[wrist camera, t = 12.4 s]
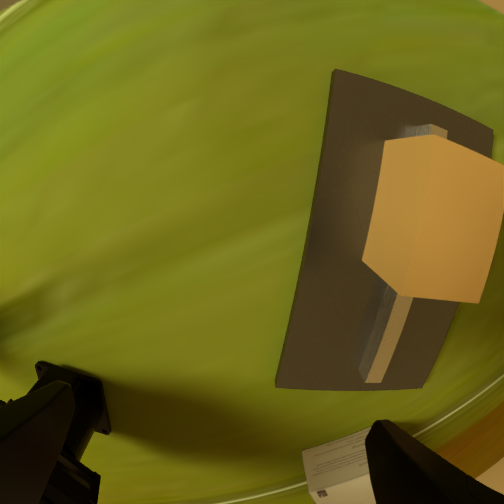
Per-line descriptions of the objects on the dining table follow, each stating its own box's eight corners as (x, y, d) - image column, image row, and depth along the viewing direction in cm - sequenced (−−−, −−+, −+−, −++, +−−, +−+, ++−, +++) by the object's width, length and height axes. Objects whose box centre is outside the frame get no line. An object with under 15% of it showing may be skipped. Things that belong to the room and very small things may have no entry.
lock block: (431, 271, 18) (478, 303, 13) (361, 260, 17) (400, 295, 12) (454, 164, 16) (510, 168, 11) (384, 140, 15) (434, 134, 10)
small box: (390, 459, 24) (404, 495, 19) (318, 484, 25) (325, 522, 20) (384, 418, 22) (404, 460, 17) (299, 448, 23) (306, 494, 18)
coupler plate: (418, 382, 21) (430, 400, 19) (274, 380, 20) (277, 403, 18) (486, 130, 16) (508, 129, 13) (331, 72, 15) (343, 60, 13)
